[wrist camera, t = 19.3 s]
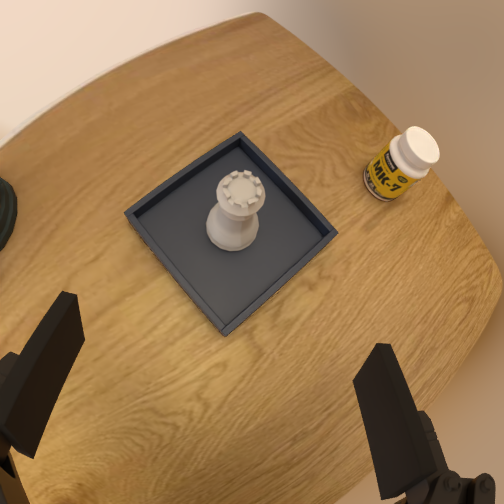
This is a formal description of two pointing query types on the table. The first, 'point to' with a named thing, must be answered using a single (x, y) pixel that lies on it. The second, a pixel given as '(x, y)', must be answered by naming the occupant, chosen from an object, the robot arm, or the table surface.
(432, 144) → the supplement bottle
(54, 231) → the table surface
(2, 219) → the mug
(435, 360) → the table surface
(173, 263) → the dark tray
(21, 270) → the table surface
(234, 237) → the rook chess piece
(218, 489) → the table surface
